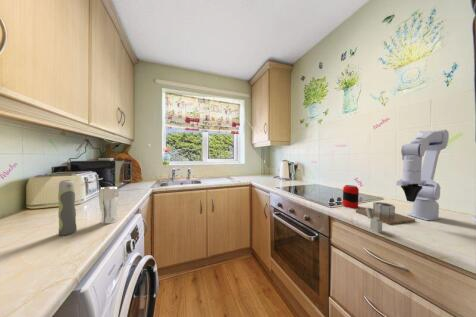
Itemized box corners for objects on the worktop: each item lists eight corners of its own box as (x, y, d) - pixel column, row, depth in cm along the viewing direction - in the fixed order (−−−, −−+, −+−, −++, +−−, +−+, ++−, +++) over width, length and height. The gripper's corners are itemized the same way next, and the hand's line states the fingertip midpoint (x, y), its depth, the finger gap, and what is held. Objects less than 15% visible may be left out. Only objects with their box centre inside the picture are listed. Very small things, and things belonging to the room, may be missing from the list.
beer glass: (122, 220, 79) (121, 187, 78) (105, 225, 72) (104, 190, 72) (113, 217, 81) (112, 185, 81) (96, 222, 75) (95, 188, 75)
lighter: (382, 233, 68) (383, 212, 67) (377, 233, 68) (378, 212, 67) (368, 225, 75) (369, 207, 75) (364, 225, 75) (365, 207, 75)
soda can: (343, 203, 107) (343, 184, 106) (358, 205, 102) (358, 185, 102) (342, 206, 101) (342, 186, 100) (357, 209, 96) (358, 187, 96)
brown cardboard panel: (379, 210, 95) (379, 199, 95) (415, 221, 80) (415, 208, 79) (355, 212, 91) (356, 200, 91) (388, 224, 76) (388, 210, 76)
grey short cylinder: (381, 212, 88) (381, 202, 88) (391, 215, 84) (391, 205, 84) (375, 213, 87) (375, 203, 87) (385, 216, 83) (385, 206, 82)
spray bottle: (61, 237, 62) (59, 182, 62) (56, 234, 65) (55, 180, 64) (78, 231, 67) (77, 180, 66) (73, 229, 69) (72, 179, 68)
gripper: (412, 169, 82) (411, 198, 83) (389, 170, 79) (388, 199, 79) (432, 171, 75) (431, 202, 76) (408, 171, 72) (406, 204, 72)
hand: (410, 201), depth 77 cm, fingers closed
